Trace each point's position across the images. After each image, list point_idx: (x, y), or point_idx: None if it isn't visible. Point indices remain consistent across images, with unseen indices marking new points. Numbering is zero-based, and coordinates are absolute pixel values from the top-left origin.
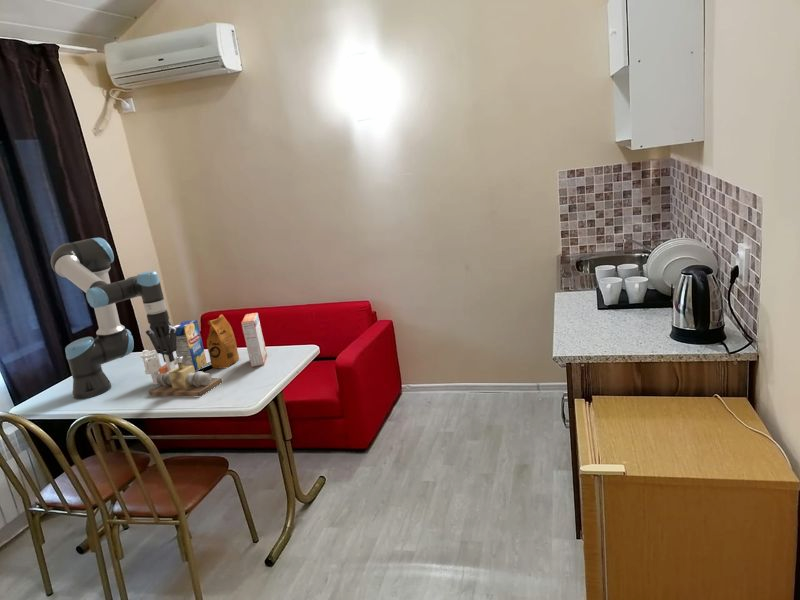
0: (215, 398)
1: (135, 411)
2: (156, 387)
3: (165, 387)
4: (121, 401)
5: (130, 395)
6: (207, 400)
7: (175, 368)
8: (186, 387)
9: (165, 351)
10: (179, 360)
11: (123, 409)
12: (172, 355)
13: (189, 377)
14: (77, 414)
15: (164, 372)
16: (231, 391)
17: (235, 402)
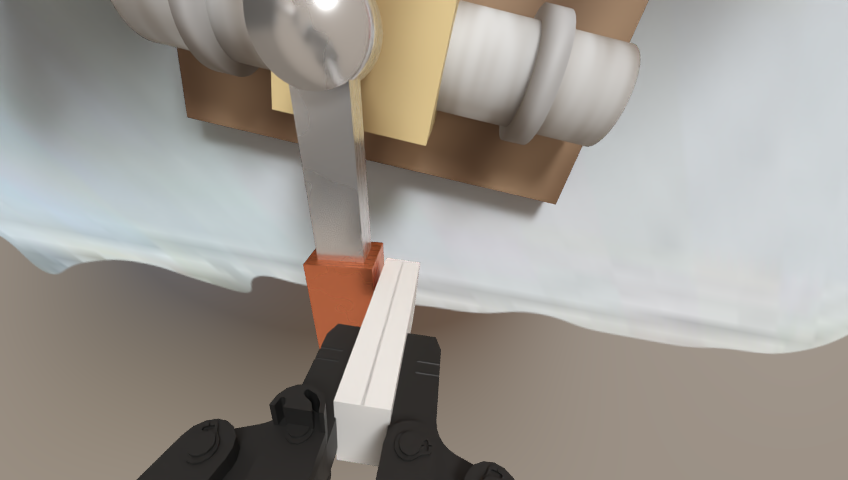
0: (642, 229)
1: (288, 279)
2: (186, 54)
3: (260, 69)
4: (99, 157)
5: (62, 76)
6: (601, 243)
7: None
8: (435, 118)
9: (319, 470)
10: (356, 77)
11: (208, 250)
12: (435, 410)
13: (466, 109)
14: (30, 254)
15: None
16: (732, 155)
17: (755, 293)
